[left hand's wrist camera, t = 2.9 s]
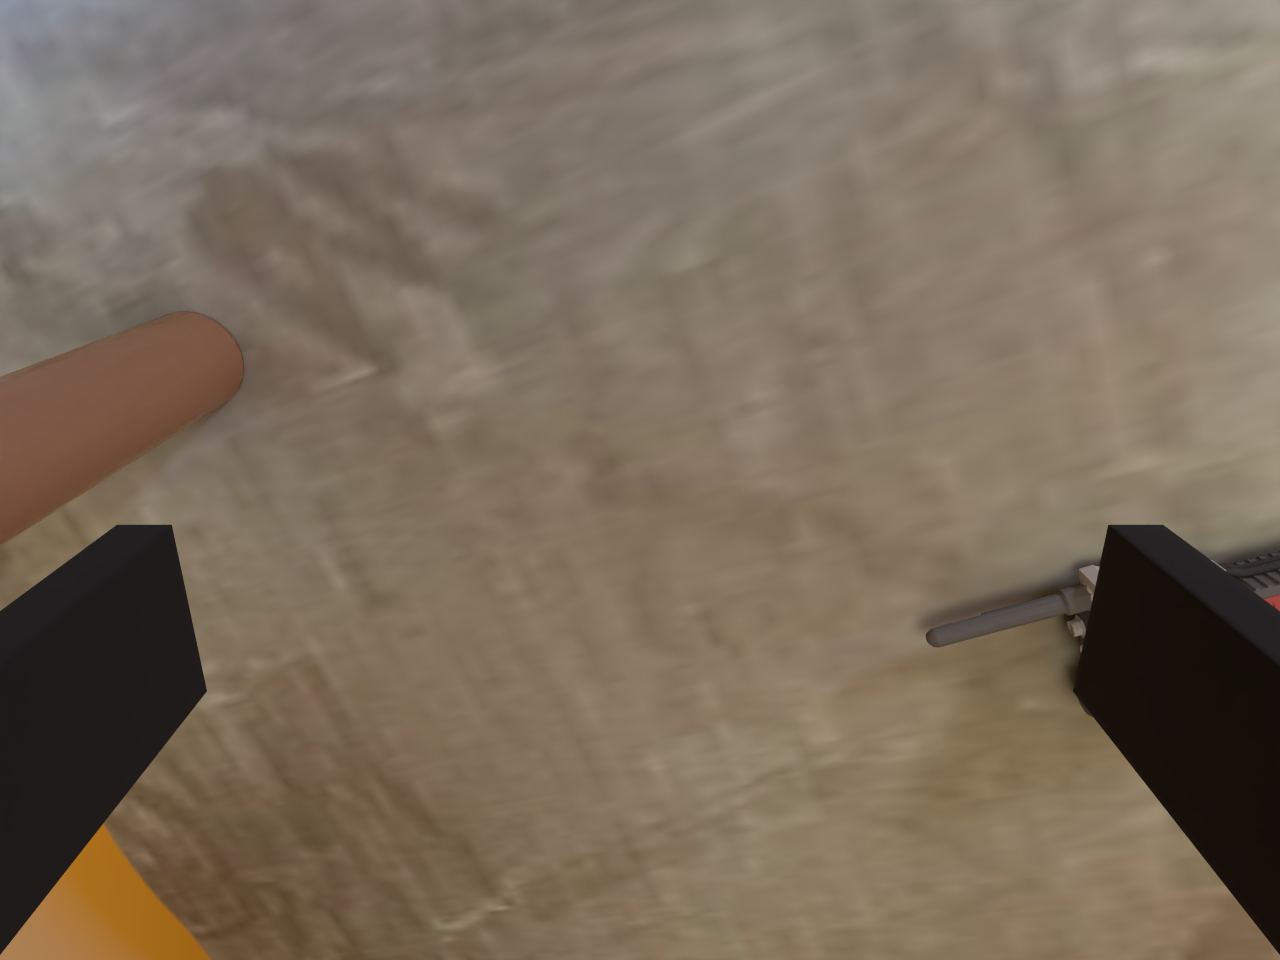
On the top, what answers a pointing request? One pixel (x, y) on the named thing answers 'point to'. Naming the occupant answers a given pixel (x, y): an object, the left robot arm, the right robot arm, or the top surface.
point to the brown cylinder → (106, 409)
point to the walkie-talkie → (1264, 575)
